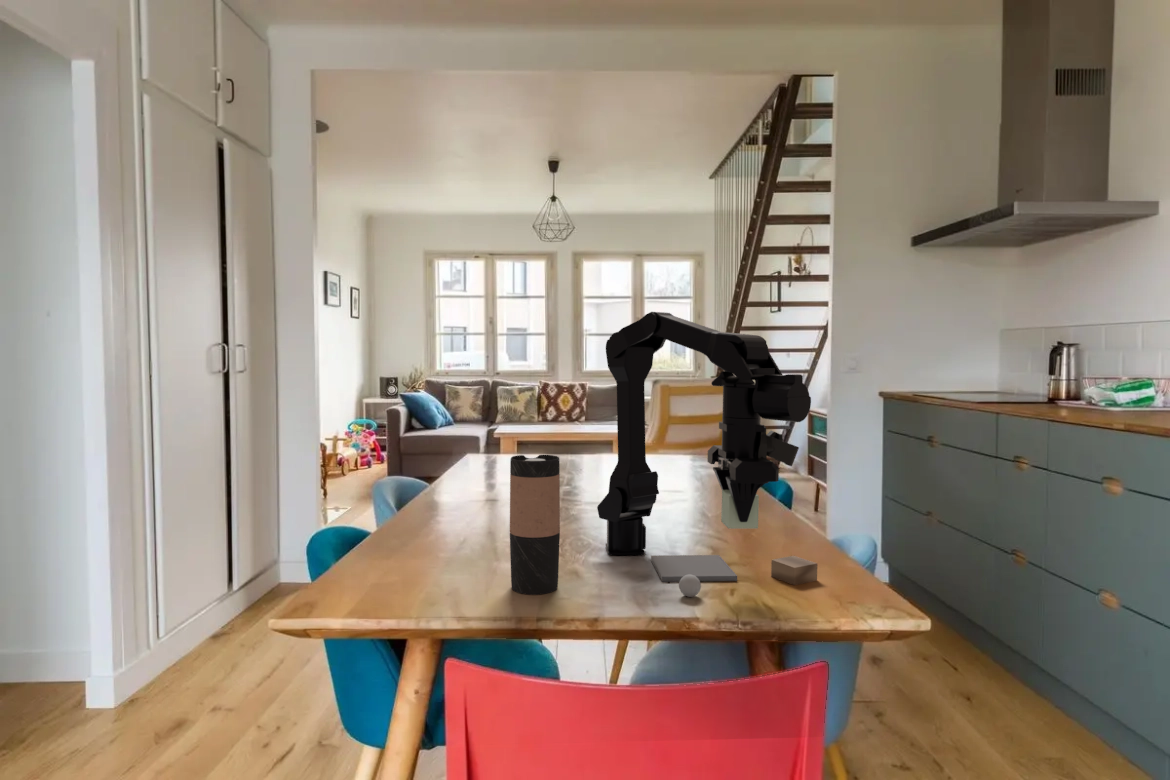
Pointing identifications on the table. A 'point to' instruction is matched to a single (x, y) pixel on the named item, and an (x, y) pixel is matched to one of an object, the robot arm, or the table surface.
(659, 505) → the table surface
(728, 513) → the sage block
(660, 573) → the plate
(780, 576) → the walnut block
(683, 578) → the grey ball
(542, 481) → the travel mug
